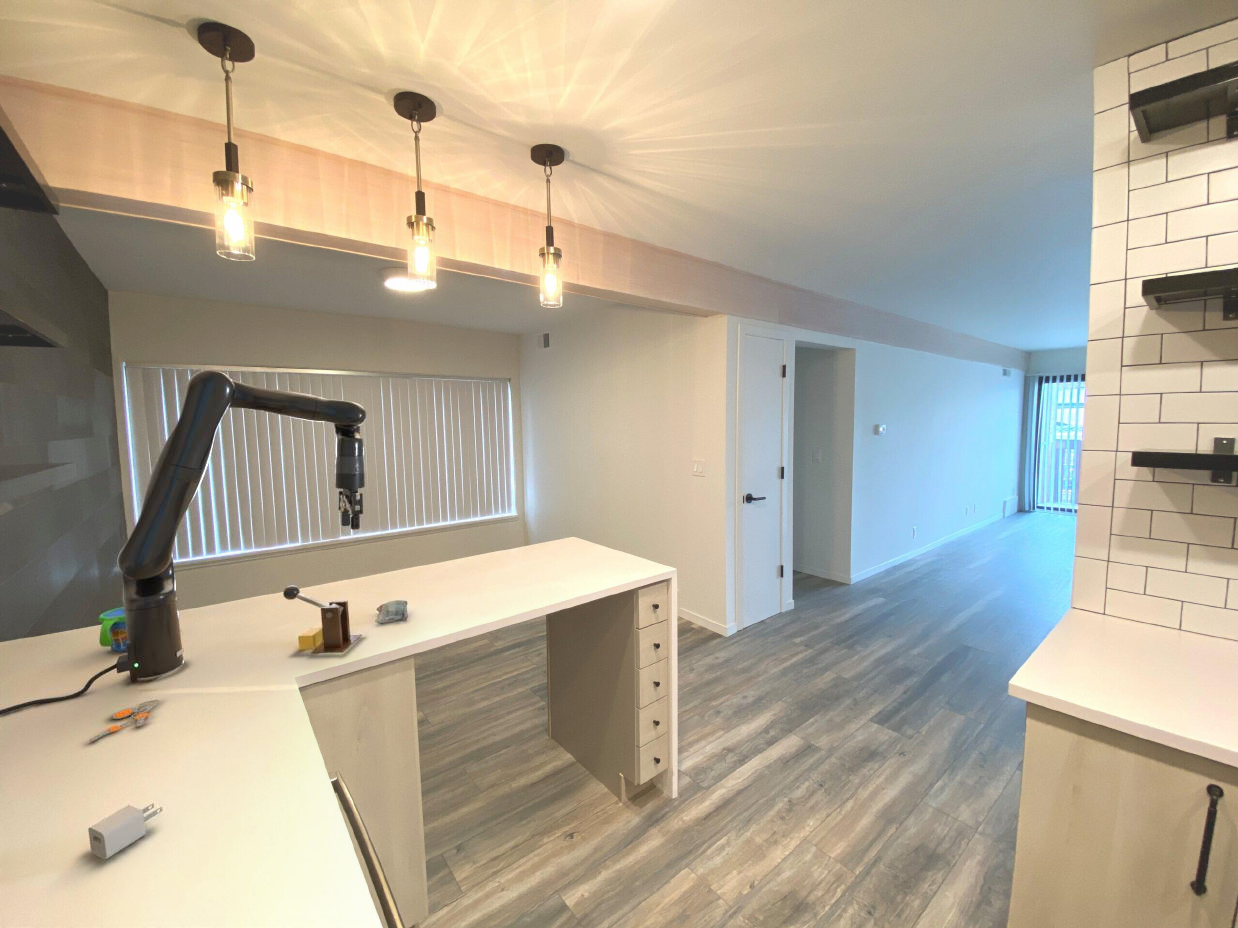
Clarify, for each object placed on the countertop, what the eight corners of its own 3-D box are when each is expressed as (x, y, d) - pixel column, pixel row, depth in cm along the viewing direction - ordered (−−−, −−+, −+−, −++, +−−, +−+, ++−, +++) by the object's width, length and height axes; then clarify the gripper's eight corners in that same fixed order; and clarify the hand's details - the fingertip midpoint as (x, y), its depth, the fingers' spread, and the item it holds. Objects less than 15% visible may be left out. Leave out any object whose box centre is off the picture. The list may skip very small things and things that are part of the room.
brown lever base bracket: (311, 656, 128) (307, 612, 127) (332, 639, 138) (329, 597, 137) (343, 655, 128) (339, 611, 127) (362, 638, 138) (359, 596, 137)
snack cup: (137, 634, 143) (133, 600, 142) (175, 633, 144) (172, 598, 143) (81, 661, 128) (76, 622, 127) (124, 659, 128) (119, 621, 127)
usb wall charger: (91, 852, 71) (87, 825, 70) (151, 815, 77) (148, 791, 77) (107, 860, 69) (104, 833, 69) (167, 822, 76) (164, 797, 75)
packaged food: (375, 629, 144) (374, 612, 143) (377, 614, 155) (376, 599, 154) (408, 624, 147) (407, 607, 147) (407, 610, 158) (407, 595, 158)
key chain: (123, 707, 106) (123, 703, 106) (166, 699, 109) (166, 696, 109) (84, 743, 95) (84, 739, 94) (134, 734, 97) (133, 730, 97)
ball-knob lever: (277, 598, 129) (283, 586, 129) (286, 593, 133) (291, 581, 133) (333, 621, 130) (338, 609, 130) (340, 616, 134) (346, 604, 134)
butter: (293, 655, 129) (292, 638, 128) (311, 641, 137) (310, 625, 136) (312, 655, 129) (311, 637, 128) (329, 641, 137) (328, 624, 136)
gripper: (328, 471, 148) (329, 526, 149) (343, 472, 138) (343, 531, 138) (356, 470, 154) (356, 523, 154) (372, 472, 143) (372, 529, 144)
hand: (350, 527), depth 146 cm, fingers open, 8 cm apart
